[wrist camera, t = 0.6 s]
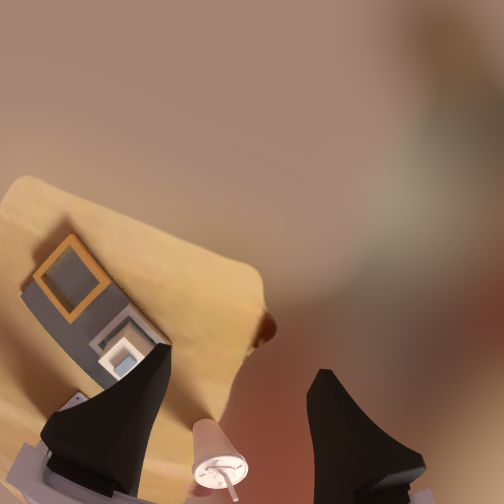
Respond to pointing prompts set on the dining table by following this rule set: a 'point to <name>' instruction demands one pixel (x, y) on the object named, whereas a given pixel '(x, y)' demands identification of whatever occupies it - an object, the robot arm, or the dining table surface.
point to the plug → (125, 350)
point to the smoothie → (216, 458)
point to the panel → (83, 307)
